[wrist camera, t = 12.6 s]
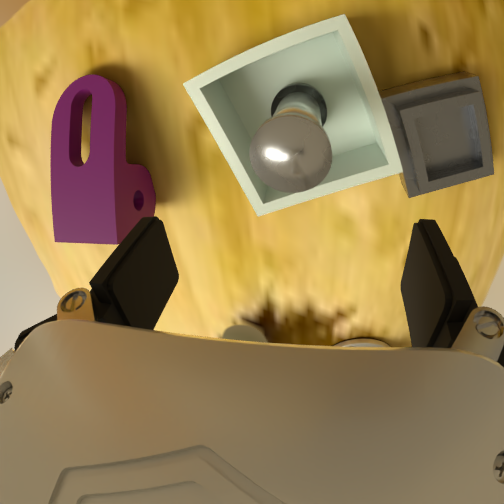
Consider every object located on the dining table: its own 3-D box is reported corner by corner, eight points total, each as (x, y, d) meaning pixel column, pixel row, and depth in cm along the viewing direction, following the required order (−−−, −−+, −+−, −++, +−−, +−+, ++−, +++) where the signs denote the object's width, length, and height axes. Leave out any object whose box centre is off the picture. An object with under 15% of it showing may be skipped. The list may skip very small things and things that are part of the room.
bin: (387, 147, 27) (403, 172, 22) (266, 186, 32) (257, 216, 28) (337, 19, 20) (344, 14, 16) (206, 74, 26) (182, 84, 21)
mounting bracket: (97, 98, 34) (97, 229, 38) (55, 86, 26) (54, 241, 30) (157, 84, 32) (156, 230, 36) (119, 65, 24) (117, 244, 28)
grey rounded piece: (326, 83, 24) (338, 115, 14) (325, 133, 27) (332, 198, 17) (272, 82, 25) (242, 112, 15) (274, 130, 28) (248, 193, 18)
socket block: (481, 161, 25) (500, 181, 22) (401, 184, 29) (412, 206, 26) (464, 71, 20) (486, 78, 16) (373, 92, 24) (384, 102, 21)
